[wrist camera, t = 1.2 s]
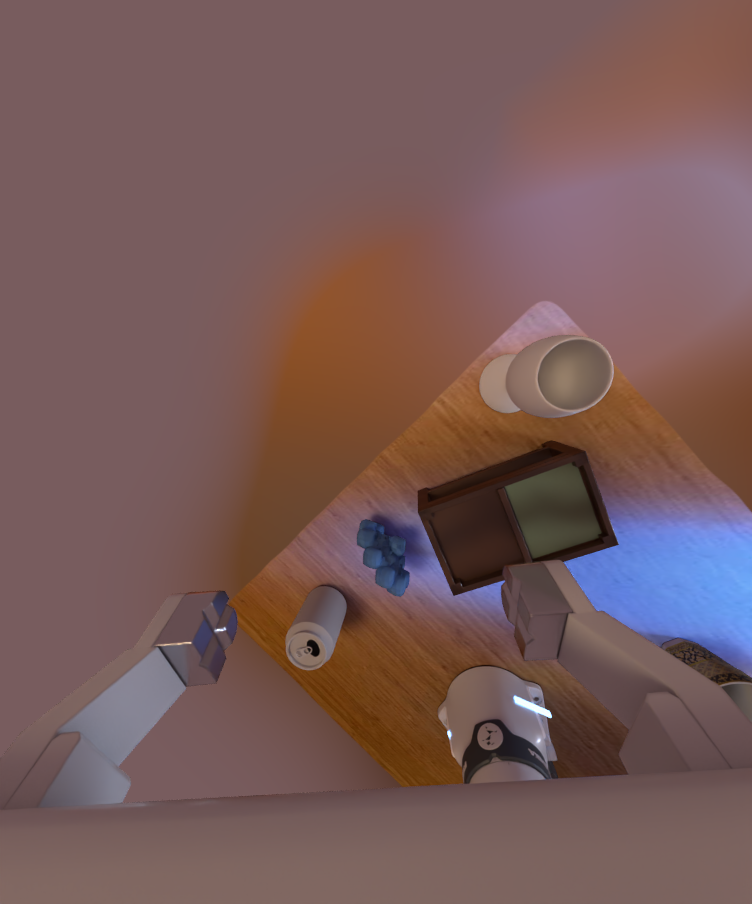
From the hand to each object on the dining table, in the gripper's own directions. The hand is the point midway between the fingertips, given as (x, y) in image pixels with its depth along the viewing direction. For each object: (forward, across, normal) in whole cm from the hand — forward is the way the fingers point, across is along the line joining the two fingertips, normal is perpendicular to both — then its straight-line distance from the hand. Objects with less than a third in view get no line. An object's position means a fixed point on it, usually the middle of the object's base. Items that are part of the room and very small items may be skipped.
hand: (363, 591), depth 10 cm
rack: (+36, +17, -26) cm, 48 cm away
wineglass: (+42, +20, -8) cm, 47 cm away
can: (+34, -13, -42) cm, 56 cm away
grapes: (+36, 0, -31) cm, 48 cm away
